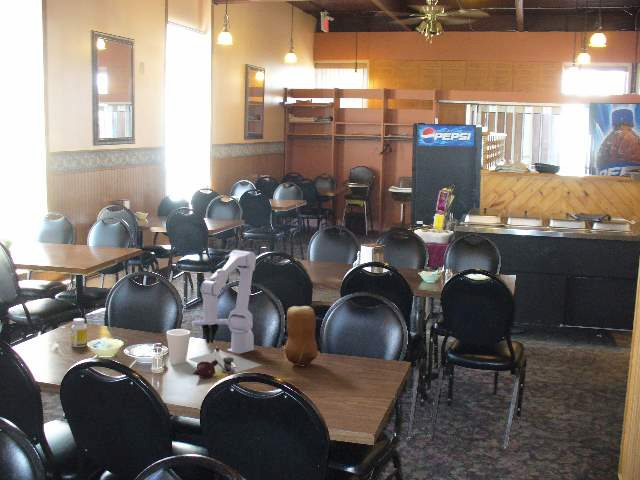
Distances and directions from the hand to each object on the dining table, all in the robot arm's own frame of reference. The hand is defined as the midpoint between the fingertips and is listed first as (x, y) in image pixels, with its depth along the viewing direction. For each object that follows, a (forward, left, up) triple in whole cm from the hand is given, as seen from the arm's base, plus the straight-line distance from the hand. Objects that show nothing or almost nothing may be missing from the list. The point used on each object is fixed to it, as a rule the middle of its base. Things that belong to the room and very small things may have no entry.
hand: (209, 342), depth 316 cm
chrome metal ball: (+1, +13, -9) cm, 16 cm away
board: (-6, +3, -9) cm, 11 cm away
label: (-4, +8, -9) cm, 12 cm away
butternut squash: (-28, +25, -10) cm, 39 cm away
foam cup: (+8, -10, -10) cm, 16 cm away
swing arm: (-2, +6, -8) cm, 10 cm away
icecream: (+12, +12, -10) cm, 19 cm away
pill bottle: (+25, -57, -10) cm, 63 cm away
